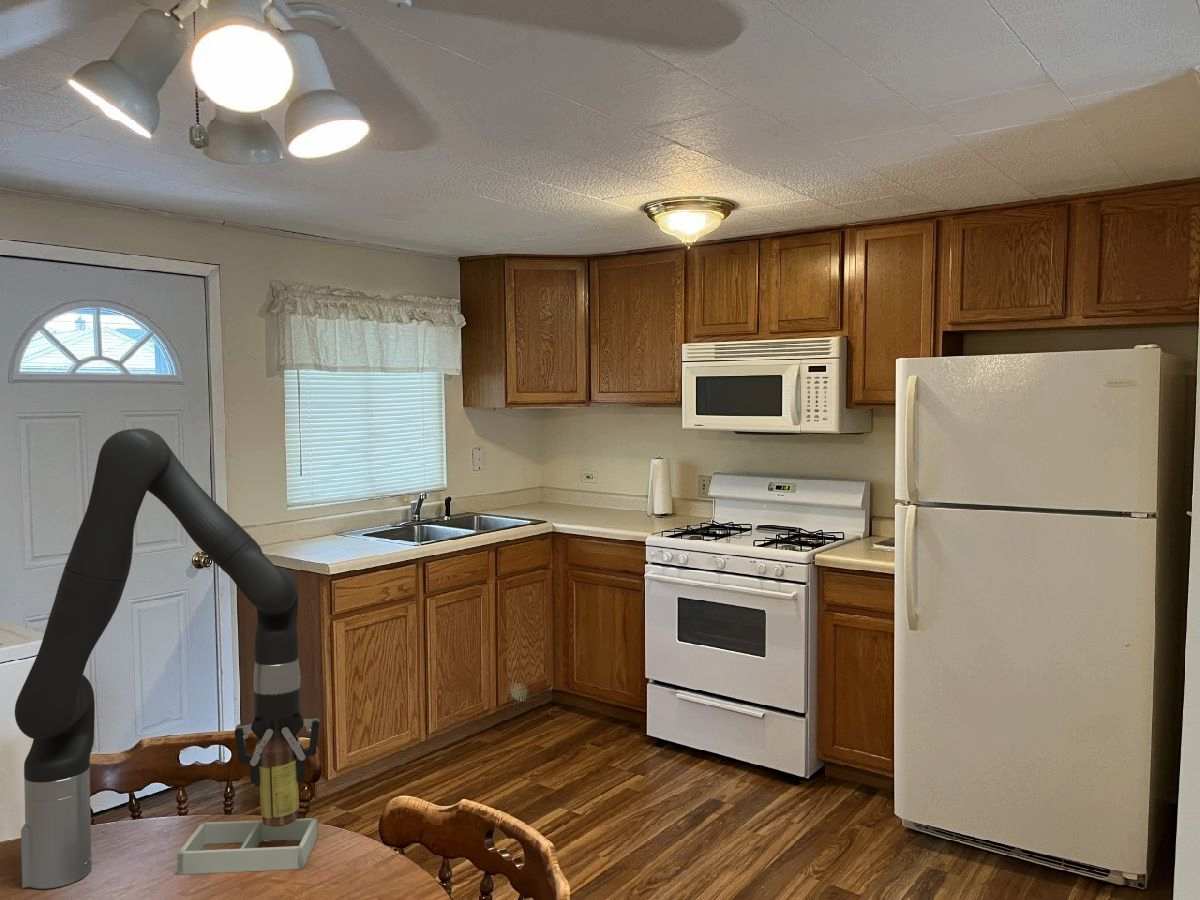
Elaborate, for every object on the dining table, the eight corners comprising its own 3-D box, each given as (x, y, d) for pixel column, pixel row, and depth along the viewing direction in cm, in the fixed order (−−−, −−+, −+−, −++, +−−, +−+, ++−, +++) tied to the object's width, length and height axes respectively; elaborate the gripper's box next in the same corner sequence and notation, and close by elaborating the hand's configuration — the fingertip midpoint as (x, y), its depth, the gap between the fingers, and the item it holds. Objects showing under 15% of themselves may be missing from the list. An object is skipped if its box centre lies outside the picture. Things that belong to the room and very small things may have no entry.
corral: (177, 874, 149) (177, 853, 149) (201, 842, 161) (201, 822, 160) (302, 868, 151) (302, 848, 151) (317, 837, 162) (317, 817, 162)
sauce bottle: (305, 813, 159) (304, 701, 158) (289, 829, 153) (288, 712, 152) (269, 812, 159) (268, 700, 159) (252, 827, 153) (250, 711, 153)
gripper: (230, 696, 150) (231, 796, 150) (321, 688, 154) (322, 785, 154) (233, 683, 157) (235, 779, 157) (320, 676, 161) (322, 769, 161)
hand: (278, 782), depth 156 cm, fingers closed on sauce bottle, 6 cm apart
